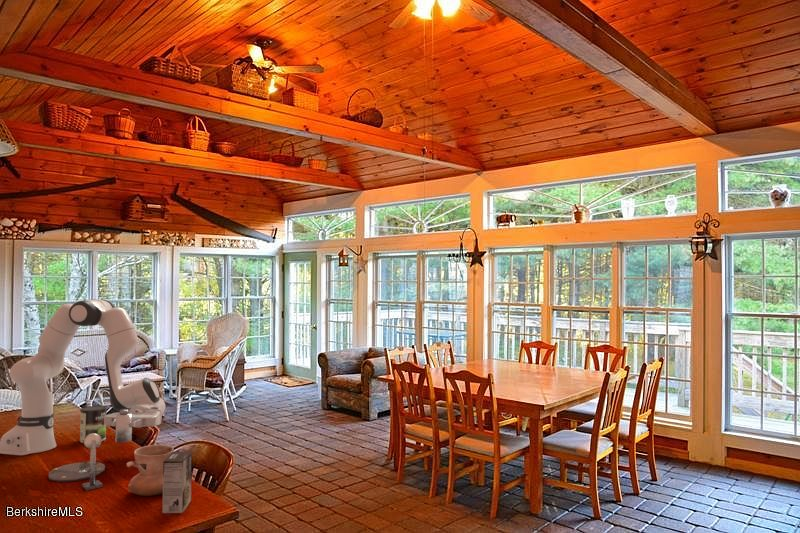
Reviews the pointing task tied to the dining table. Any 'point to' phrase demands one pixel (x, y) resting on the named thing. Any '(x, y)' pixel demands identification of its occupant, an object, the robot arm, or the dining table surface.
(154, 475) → the ceramic jug
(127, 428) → the capped metal canister
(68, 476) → the disc
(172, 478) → the coffee box
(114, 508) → the dining table surface
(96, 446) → the metal joystick
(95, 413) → the coffee can
